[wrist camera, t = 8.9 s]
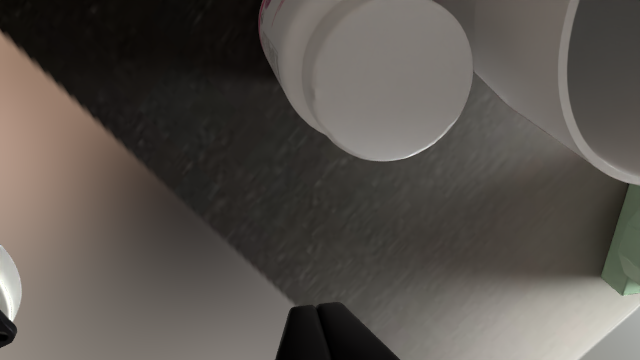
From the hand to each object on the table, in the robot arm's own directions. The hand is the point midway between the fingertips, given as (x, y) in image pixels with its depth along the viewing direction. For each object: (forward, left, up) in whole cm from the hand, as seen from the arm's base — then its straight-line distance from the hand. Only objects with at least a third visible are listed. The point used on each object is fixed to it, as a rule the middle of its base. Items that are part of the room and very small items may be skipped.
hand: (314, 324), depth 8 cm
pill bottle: (+4, +1, -13) cm, 14 cm away
